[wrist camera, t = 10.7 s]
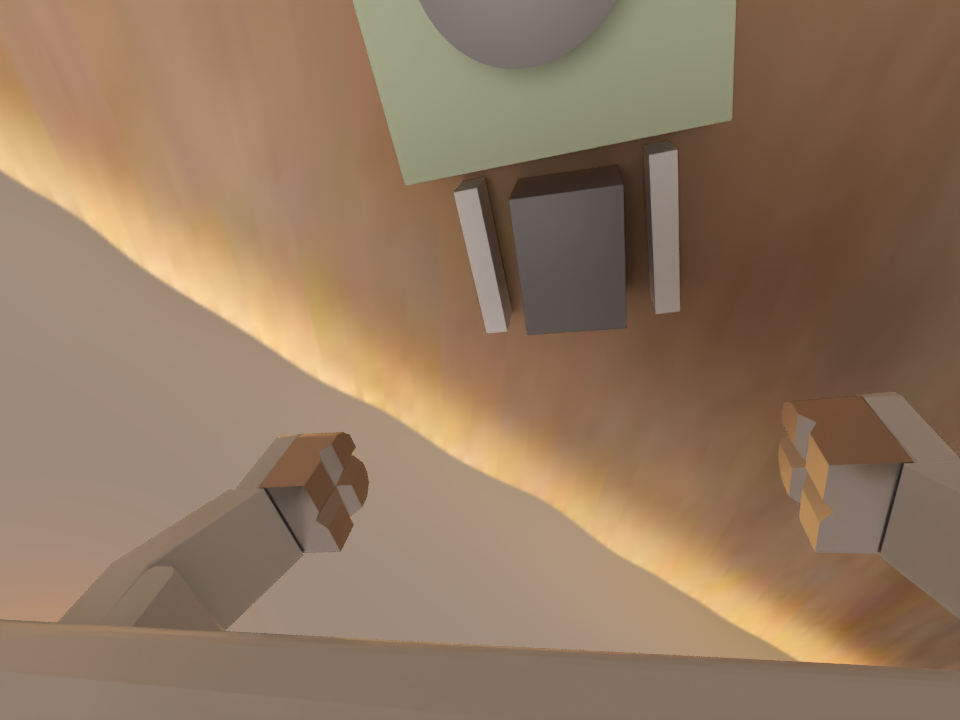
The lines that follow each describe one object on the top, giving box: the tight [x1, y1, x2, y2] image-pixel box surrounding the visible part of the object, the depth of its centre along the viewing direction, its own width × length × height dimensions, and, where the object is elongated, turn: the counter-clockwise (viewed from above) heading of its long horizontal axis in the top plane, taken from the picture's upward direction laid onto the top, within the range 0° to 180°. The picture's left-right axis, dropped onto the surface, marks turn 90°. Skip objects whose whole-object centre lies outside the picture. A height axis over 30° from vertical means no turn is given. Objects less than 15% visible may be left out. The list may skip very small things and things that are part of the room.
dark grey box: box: [509, 165, 627, 335], centre depth 25 cm, size 5×7×4 cm
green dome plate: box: [353, 0, 736, 334], centre depth 21 cm, size 14×21×8 cm, turn 13°
